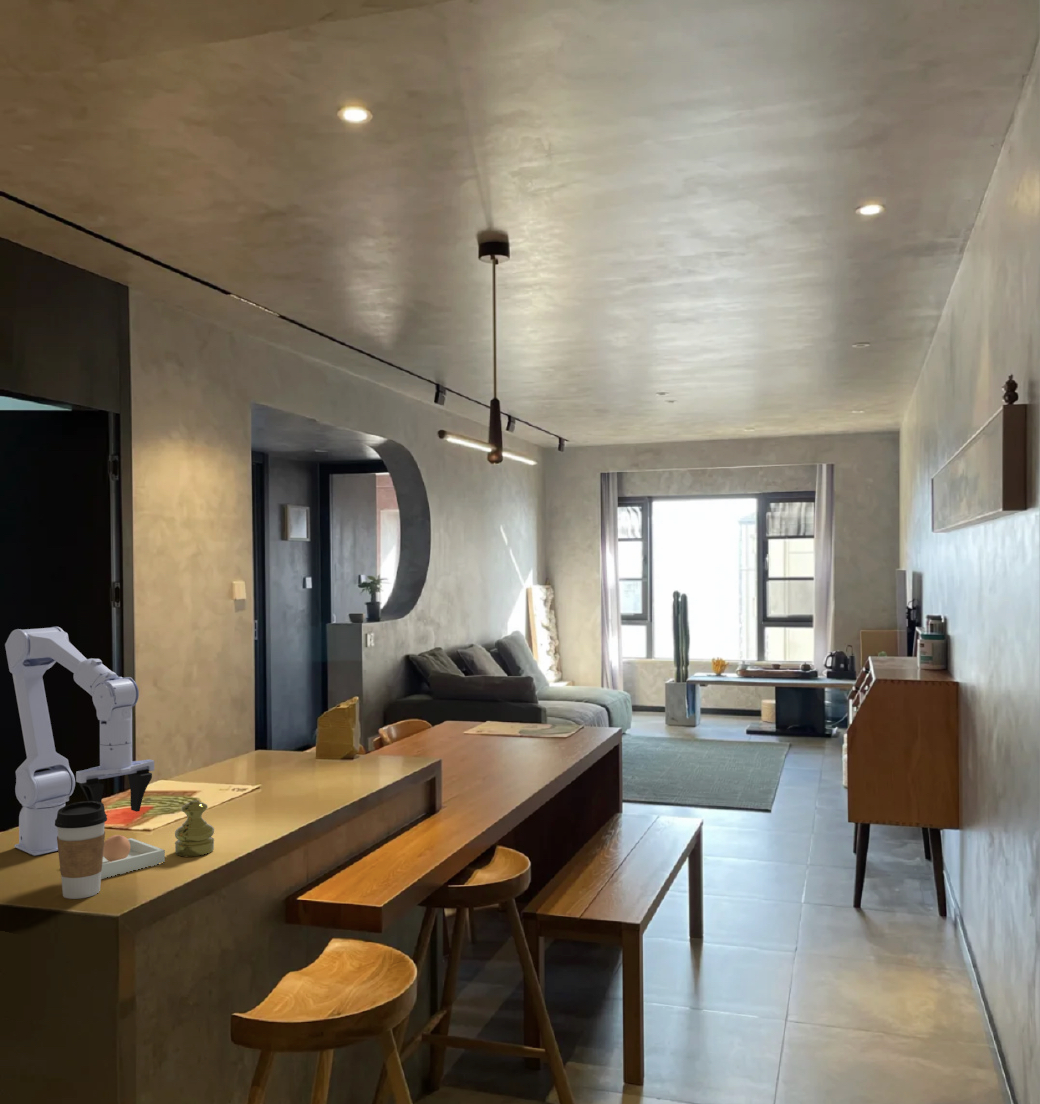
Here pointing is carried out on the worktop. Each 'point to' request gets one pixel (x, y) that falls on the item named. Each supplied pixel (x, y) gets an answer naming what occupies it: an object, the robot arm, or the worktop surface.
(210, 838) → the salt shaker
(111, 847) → the ball
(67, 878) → the coffee cup
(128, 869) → the tray
